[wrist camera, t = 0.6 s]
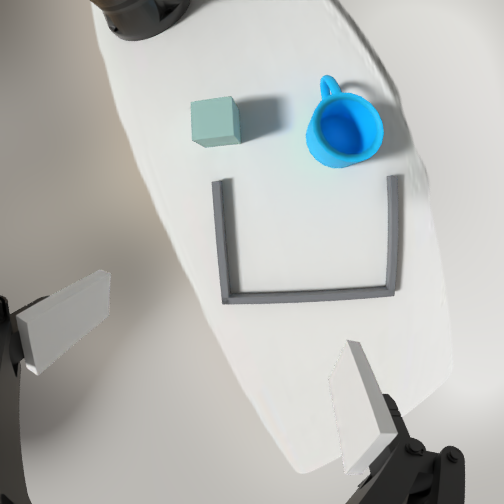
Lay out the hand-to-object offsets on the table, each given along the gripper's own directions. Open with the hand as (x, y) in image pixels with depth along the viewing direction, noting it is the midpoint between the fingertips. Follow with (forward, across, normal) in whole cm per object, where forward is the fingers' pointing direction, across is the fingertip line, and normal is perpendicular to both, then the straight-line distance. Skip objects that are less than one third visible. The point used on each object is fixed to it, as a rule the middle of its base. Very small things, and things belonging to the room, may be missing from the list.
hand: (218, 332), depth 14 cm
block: (+26, -9, +14) cm, 30 cm away
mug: (+26, +6, +18) cm, 32 cm away
